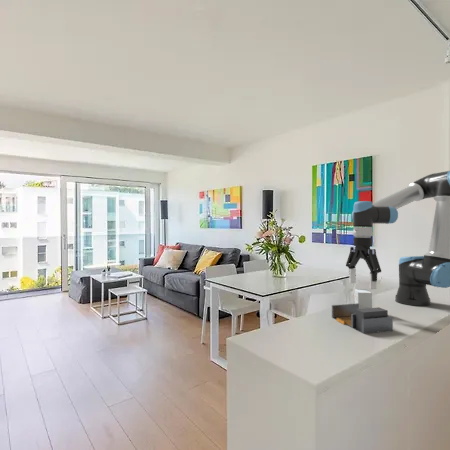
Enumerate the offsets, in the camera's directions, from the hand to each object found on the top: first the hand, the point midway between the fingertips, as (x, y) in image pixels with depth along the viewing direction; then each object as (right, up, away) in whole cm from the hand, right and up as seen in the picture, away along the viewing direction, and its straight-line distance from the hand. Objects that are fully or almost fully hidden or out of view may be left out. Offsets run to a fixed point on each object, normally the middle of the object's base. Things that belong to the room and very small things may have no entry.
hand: (362, 286), depth 137 cm
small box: (0, -13, 0) cm, 13 cm away
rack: (-7, -13, -15) cm, 21 cm away
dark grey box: (-6, -12, -21) cm, 25 cm away
